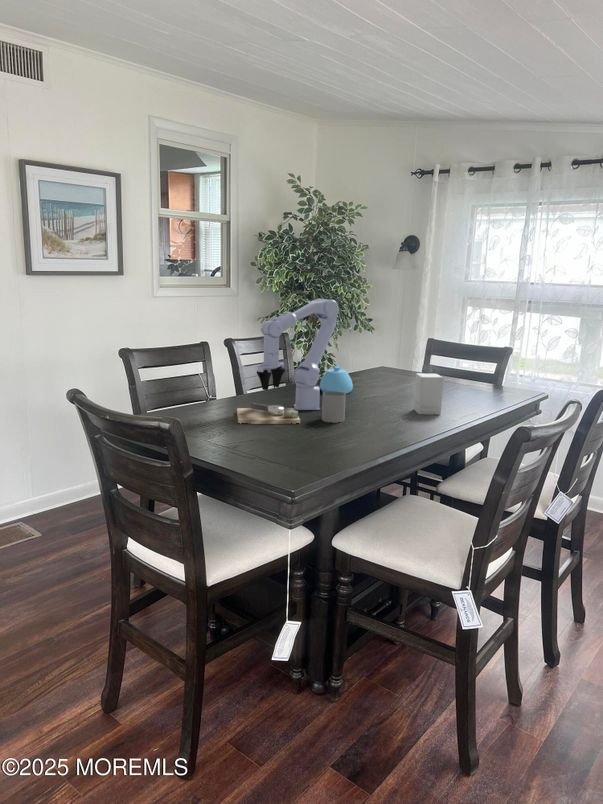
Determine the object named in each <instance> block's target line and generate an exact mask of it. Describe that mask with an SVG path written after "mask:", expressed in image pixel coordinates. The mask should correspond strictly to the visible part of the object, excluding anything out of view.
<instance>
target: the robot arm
mask: <svg viewBox="0 0 603 804" xmlns="http://www.w3.org/2000/svg"><path fill="white" fill-rule="evenodd" d="M339 312H340V308H339V305H338V303H337V301H336V300H334V299H325V298H316V299H313V300H311V301H310V302H309V303H308V304H305V305H304V306H302V307H301V308H299V309H297V310H295V311H293V312H291V311H283V312H282V314H281V315H279V316H277V317H272V319H271V320H266V321H264V323H262V327H261V328H260V331H261V333H262V336H263V363H261V365H259V366H257V371H256V374H257V377H258V378H259V381H260V384H261V389H262V390H263V391H268V390H269V386H270V385H269V384H270V379H271V376H272V385H273V387H275V388H279V387H280V384H281V380H282V377H283V374H284V373H285V371H286V369H285V364H284V363H285V362H282V361H280V360H279V359H280V337H281V335H282V334H283V332H286V330H287V331H288V329H291V328H292V327H294V326H296V325H297V321H299V320H301V319H303V318H305V317H308V316H311V315H312V314H315V316H316V318H318V320H319V322H320V327H319V329H318V332H317V334H316V336H315V338H314V340H313V342H312V344H311V347H310V348H309V350H308V352H307V353H308V354H307V355H306V357H305V360H303V361H302V362H300V363H299V365H298V366H297V368H296V369H295V370H294V371H293V373H292V379H293V381H294V383H295V385H296V386H295V404H293V408H294V409H295V411H317V410H318V411H319V410H320V397H321V393H320V390H321V389H320V386H318V385H317V383H318V382H319V375H320V373H321V371H320V368H319V364H320V361H321V359H322V357H323V356H324V353H325V351H326V349H327V347H328V345H329V342H330V340H331V338H332V336H333V333H334V332H335V328H336V327H337V320H338V314H339ZM269 371H270V372H269Z"/></svg>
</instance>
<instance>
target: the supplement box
mask: <svg viewBox="0 0 603 804" xmlns="http://www.w3.org/2000/svg"><path fill="white" fill-rule="evenodd" d="M444 378H445V377H443V376H441V375H440V374H438V373H421V372H419V373H415V378H414V379H415V381H414V397H413V398H414V399H413V411H414V412H415V413H417V414H418V415H434V414H435V415H436V416H437V415H438V416H439V415H440V416H441V414H442V413H441V412H442V402H443V401H442V400H443V391H444V390H443V389H444Z"/></svg>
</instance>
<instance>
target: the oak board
mask: <svg viewBox="0 0 603 804" xmlns="http://www.w3.org/2000/svg"><path fill="white" fill-rule="evenodd" d="M236 414H237V415H236V416H237V424H238V423H240V424H239V425H242V424H241V423H248V424H247V425H272V424H273V425H279V424H281V425H284V424H285V425H286V424H287V425H291V423H292V425H293V424H294V425H295V424H296V423H299V424H301V418H300V416H299V410H296V409H295V407H284V414H283V415H269V414H268V412H267V411H262V410H256V409H251V407H244V408H243V407H237V408H236ZM249 423H250V424H249Z"/></svg>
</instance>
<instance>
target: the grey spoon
mask: <svg viewBox="0 0 603 804" xmlns="http://www.w3.org/2000/svg"><path fill="white" fill-rule="evenodd" d="M250 408H251V409H256V410H262V411H267V412H268V414H269V415H283V414H284V408H285V407H284V406H283V405H278V404H277V405H275V404H274V405H269V404H262V403H256V402H251V403H250Z"/></svg>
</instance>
